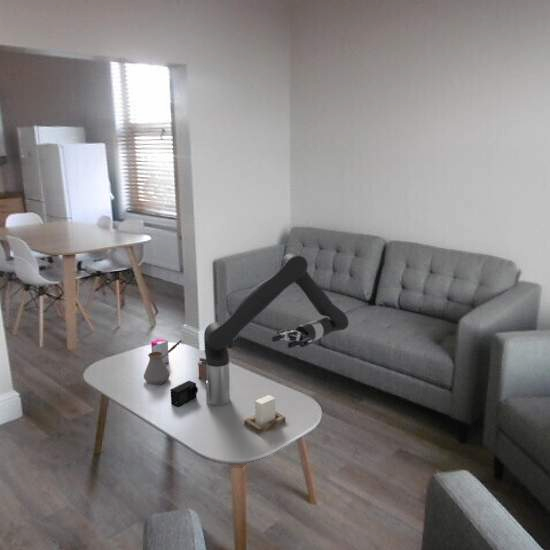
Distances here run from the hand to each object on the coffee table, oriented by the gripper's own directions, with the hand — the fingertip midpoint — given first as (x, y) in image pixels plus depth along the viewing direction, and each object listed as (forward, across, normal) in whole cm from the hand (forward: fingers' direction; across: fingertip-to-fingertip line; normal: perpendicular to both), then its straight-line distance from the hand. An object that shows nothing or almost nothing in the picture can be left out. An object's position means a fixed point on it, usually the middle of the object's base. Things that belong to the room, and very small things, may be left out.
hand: (280, 342), depth 200 cm
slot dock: (+9, +1, +30) cm, 31 cm away
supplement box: (+9, -74, +30) cm, 80 cm away
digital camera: (+22, -34, +30) cm, 50 cm away
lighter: (+3, -44, +30) cm, 54 cm away
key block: (+9, +2, +30) cm, 31 cm away
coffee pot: (+16, -59, +30) cm, 68 cm away
